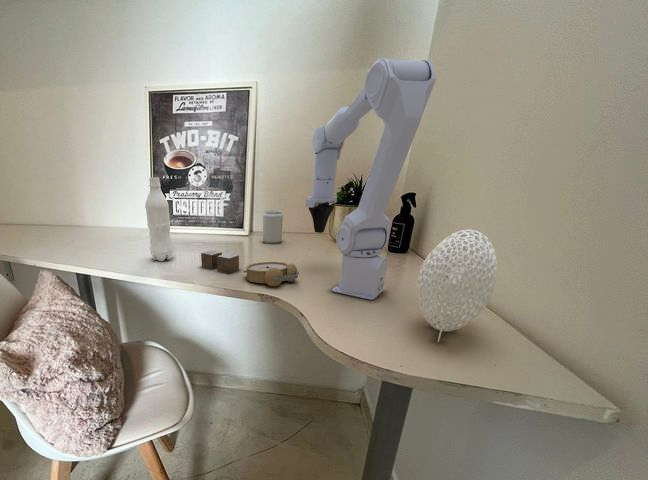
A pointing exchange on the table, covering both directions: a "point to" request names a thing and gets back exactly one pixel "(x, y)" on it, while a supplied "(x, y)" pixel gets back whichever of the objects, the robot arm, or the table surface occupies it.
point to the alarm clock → (271, 272)
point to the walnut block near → (228, 263)
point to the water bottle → (158, 222)
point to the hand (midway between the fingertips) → (319, 232)
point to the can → (272, 226)
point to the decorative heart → (456, 280)
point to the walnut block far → (210, 259)
